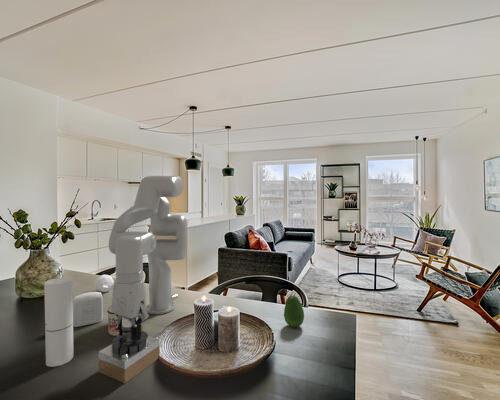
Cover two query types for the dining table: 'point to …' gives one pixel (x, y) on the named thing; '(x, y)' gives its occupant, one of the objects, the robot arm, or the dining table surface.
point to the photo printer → (87, 309)
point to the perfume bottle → (104, 283)
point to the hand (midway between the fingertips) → (130, 335)
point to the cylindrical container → (58, 321)
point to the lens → (127, 329)
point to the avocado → (293, 312)
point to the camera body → (128, 357)
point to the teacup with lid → (112, 323)
